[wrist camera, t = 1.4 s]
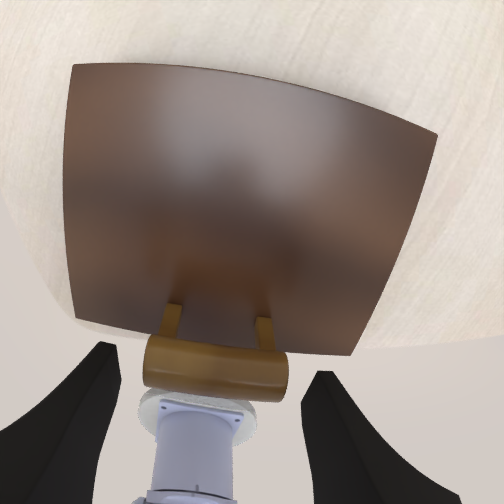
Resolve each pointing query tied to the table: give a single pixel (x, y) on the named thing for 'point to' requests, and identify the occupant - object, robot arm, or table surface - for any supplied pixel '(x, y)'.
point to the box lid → (231, 218)
